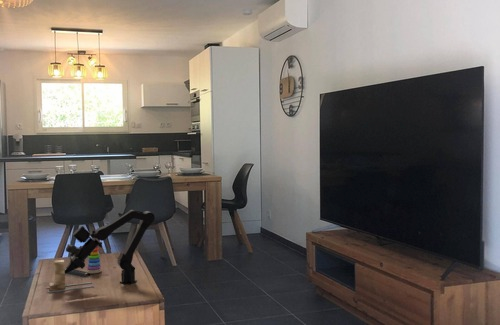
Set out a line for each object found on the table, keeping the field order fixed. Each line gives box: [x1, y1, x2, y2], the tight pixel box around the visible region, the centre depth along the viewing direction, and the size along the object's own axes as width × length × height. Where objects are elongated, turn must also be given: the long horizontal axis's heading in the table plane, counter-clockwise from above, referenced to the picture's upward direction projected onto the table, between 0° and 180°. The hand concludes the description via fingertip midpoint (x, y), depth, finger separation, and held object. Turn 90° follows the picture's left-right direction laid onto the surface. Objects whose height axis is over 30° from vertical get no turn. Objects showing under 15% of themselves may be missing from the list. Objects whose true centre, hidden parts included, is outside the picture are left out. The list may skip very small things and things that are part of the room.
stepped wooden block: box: [48, 259, 66, 291], centre depth 262 cm, size 7×6×14 cm
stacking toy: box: [86, 246, 102, 274], centre depth 298 cm, size 8×8×19 cm
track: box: [45, 281, 94, 294], centre depth 265 cm, size 22×8×1 cm, turn 114°
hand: (65, 272), depth 263 cm, fingers closed, pressing on stepped wooden block
